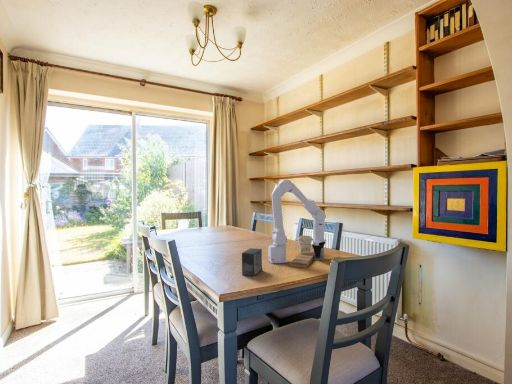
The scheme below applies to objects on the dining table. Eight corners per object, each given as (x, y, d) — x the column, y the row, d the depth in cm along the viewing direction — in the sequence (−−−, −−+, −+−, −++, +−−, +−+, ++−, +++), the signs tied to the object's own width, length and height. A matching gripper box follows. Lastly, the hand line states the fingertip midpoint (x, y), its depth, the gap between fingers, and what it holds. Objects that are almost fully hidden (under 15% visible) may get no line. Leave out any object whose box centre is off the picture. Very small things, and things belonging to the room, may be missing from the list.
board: (306, 267, 142) (306, 263, 142) (290, 266, 145) (290, 262, 145) (315, 256, 164) (315, 253, 164) (301, 255, 167) (301, 252, 167)
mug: (295, 252, 174) (294, 236, 174) (309, 250, 182) (309, 234, 182) (305, 255, 168) (305, 238, 168) (319, 252, 175) (319, 236, 175)
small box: (250, 269, 141) (249, 247, 141) (262, 270, 139) (262, 248, 138) (241, 275, 131) (241, 252, 131) (254, 276, 129) (254, 253, 129)
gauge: (323, 260, 156) (323, 249, 156) (300, 258, 160) (300, 248, 160) (323, 258, 159) (323, 248, 159) (301, 257, 164) (301, 246, 164)
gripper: (324, 233, 150) (324, 259, 150) (328, 229, 163) (328, 253, 164) (310, 233, 153) (310, 258, 153) (315, 229, 166) (315, 252, 166)
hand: (318, 256), depth 158 cm, fingers open, 7 cm apart
